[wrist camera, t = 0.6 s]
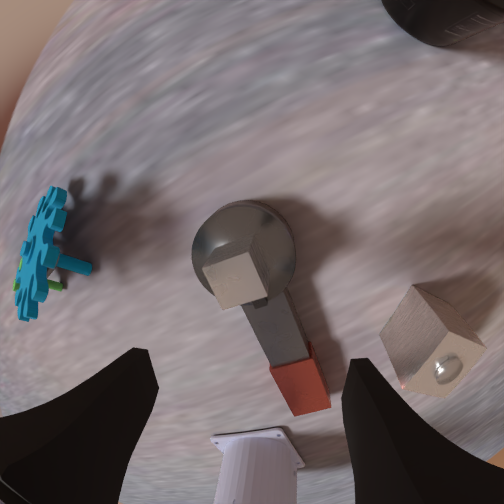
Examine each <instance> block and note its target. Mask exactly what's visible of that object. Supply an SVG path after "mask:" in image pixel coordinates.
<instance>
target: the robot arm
mask: <svg viewBox="0 0 504 504" xmlns="http://www.w3.org/2000/svg"><path fill="white" fill-rule="evenodd" d="M158 390H159V386H158V383H157V380H156V377H155V373H154V370H153V367H152V363H151V360H150V356H149V353H148V350H147V349H140V348H134V347H133V348H132V349H130V350H129V351H127V352H126V353H124V354H123V355H122V356H120V357H119V358H117V359H116V360H115V361H113V362H112V363H110V364H109V365H108V366H106V367H105V368H103V369H102V370H101V371H99V372H98V373H96V374H95V375H93V376H92V377H91V378H89V379H87V380H86V381H84V382H83V383H81V384H80V385H78V386H76V387H75V388H73V389H72V390H70V391H68V392H67V393H65V394H63V395H61V396H59V397H57V398H55V399H53V400H51V401H49V402H47V403H45V404H42V405H40V406H37V407H34V408H32V409H29V410H27V411H24V412H20V413H17V414H14V415H10V416H5V417H1V418H0V504H118V500H119V496H120V492H121V487H122V483H123V480H124V476H125V473H126V470H127V466H128V463H129V460H130V458H131V455H132V453H133V451H134V449H135V446H136V444H137V442H138V440H139V438H140V436H141V434H142V431H143V429H144V427H145V425H146V423H147V421H148V419H149V416H150V414H151V412H152V410H153V406H154V403H155V400H156V397H157V393H158ZM341 400H342V412H343V423H344V428H345V433H346V438H347V442H348V447H349V452H350V457H351V462H352V468H353V474H354V482H355V504H504V469H503V468H500V467H497V466H495V465H492V464H490V463H487V462H485V461H483V460H481V459H479V458H477V457H475V456H473V455H472V454H470V453H468V452H466V451H465V450H463V449H461V448H460V447H458V446H457V445H455V444H454V443H452V442H451V441H449V440H448V439H446V438H445V437H444V436H442V435H441V434H440V433H439V432H437V431H436V430H435V429H434V428H432V427H431V426H430V425H429V424H428V423H426V422H425V421H424V420H423V419H422V418H421V417H420V416H419V415H418V414H417V413H416V412H415V411H414V410H413V409H412V408H411V407H410V406H409V405H408V404H407V403H406V402H405V401H404V400H403V399H402V398H401V396H400V395H399V394H398V393H397V392H396V391H395V390H394V389H393V388H392V386H391V385H390V384H389V383H388V382H387V380H386V379H385V378H384V377H383V376H382V374H381V373H380V372H379V371H378V370H377V368H376V367H375V366H374V365H373V363H372V362H371V361H370V360H369V359H368V358H359V359H351V361H350V366H349V370H348V374H347V378H346V382H345V386H344V390H343V394H342V397H341ZM210 440H211V442H212V443H213V444H214V445H215V446H216V447H217V448H218V449H219V450H220V451H221V452H222V453H223V454H224V455H223V460H222V465H221V470H220V475H219V480H218V485H217V489H216V494H215V499H214V504H296V503H297V469H298V468H303V467H305V463H304V462H303V460H302V459H301V457H300V456H299V454H298V453H297V451H296V450H295V448H294V447H293V445H292V444H291V442H290V440H289V439H288V437H287V436H286V434H285V433H284V431H283V430H282V429H281V428H272V429H266V430H260V431H253V432H246V433H238V434H229V435H218V436H211V438H210Z"/></svg>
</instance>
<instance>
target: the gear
mask: <svg viewBox="0 0 504 504" xmlns="http://www.w3.org/2000/svg"><path fill="white" fill-rule="evenodd" d="M66 198H67V191H65V190H63V189H61V188H59V187H57V188H55V187H53V186H50V188H49V190H48V193H47V195H46V197H45V196H43V197H42V198H41V199H40V201H39V204H38V208H37V213H36V216H34V215H33V216H32V218H31V220H30V223H29V226H28V238H27V241H24V242H23V245H22V248H21V252H20V256H22V258H21V261H20V265H19V267H18V269H17V274H16V279H15V280H14V283H13V291H16V294H15V306H18V318H19V320H23V321H27V322H29V319H30V318H31V319H37V317H38V302H42V303H43V302H44V301H45V299H46V297H47V295H48V291H49V288H50V289H54V290H57V291H62V288H63V284H62V283H59V282H55V281H52V280H48V279H47V278H48V277H49V275H50V274H51V273H52V272H53V271H54V269H55V268H56V266H57V267H60V268H63V269H67V270H70V271H73V272H77V273H80V274H84V275H87V276H89V275H90V273H91V271H92V264H91V263H88V262H85V261H82V260H79V259H76V258H73V257H70V256H67V255H64V254H61V253H60V249H59V247H56V246H53V235H54V232H55V230H56V231H58V232H61V231H62V230H63V228H64V224H65V221H66V216H67V212H66V211H63V210H61V209H62V207H63V206H64V204H65V202H66Z"/></svg>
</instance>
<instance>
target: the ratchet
mask: <svg viewBox="0 0 504 504" xmlns="http://www.w3.org/2000/svg"><path fill="white" fill-rule="evenodd" d="M192 263H193V267H194V270H195V273H196V275H197V277H198V279H199V280H200V282H201V283H202V285H203V286H204V287H205V288H206V289H207V290H208V291H209V292H210V293H211V294H213V295H214V296H216V298H217V300H218V302H219V304H220V306H221V308H222V310H225V309H228V308H231V307H235V306H238V305H241V306H242V308H243V310H244V312H245V314H246V316H247V318H248V320H249V322H250V324H251V326H252V328H253V330H254V333H255V335H256V337H257V339H258V341H259V343H260V345H261V347H262V349H263V351H264V352H265V354H266V356H267V358H268V360H269V362H270V369H269V370H270V372H271V374H272V376H273V378H274V380H275V382H276V384H277V385H278V387H279V389H280V391H281V393H282V395H283V397H284V398H285V400H286V402H287V404H288V406H289V408H290V410H291V411H292V413H293V415H294V416H299V415H303V414H307V413H312V412H316V411H320V410H324V409H327V408H331V400H330V393H329V389H328V386H327V383H326V381H325V378H324V375H323V373H322V370H321V367H320V365H319V362H318V359H317V357H316V354H315V351H314V349H313V346H312V343H311V342H308V340H307V338H306V335H305V333H304V330H303V328H302V325H301V322H300V320H299V317H298V315H297V312H296V310H295V307H294V305H293V302H292V300H291V297H290V295H289V292H288V289H287V287H286V286H287V285H288V283H289V282H290V280H291V278H292V276H293V273H294V269H295V263H296V254H295V246H294V239H293V235H292V232H291V229H290V227H289V225H288V223H287V222H286V220H285V219H284V218H283V217H282V216H281V215H280V214H279V213H278V212H277V211H276V210H274V209H273V208H271V207H270V206H268V205H266V204H263V203H260V202H256V201H248V200H245V201H236V202H232V203H229V204H227V205H225V206H223V207H221V208H220V209H218V210H217V211H216V212H215V213H214V214H213V215H211V216H210V217H209V218H208V219H207V220H206V221H205V222H204V224H203V225H202V226H201V227H200V229H199V230H198V232H197V234H196V236H195V238H194V241H193V245H192Z"/></svg>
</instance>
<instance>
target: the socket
mask: <svg viewBox="0 0 504 504" xmlns="http://www.w3.org/2000/svg"><path fill="white" fill-rule="evenodd" d="M379 336H380V338H381V340H382V342H383V344H384V347H385V349H386V351H387V354H388V356H389V358H390V361H391V363H392V365H393V368H394V370H395V373H396V375H397V377H398V380H399V382H400V385H401V387H402V389H404V390H409V391H413V392H417V393H422V394H426V395H431V396H436V397H441V398H446V397H447V396H448V395H449V394H450V392H451V391H452V390H453V389H454V388H455V387H456V386H457V385H458V384H459V382H460V381H461V380H462V379H463V378H464V377H465V376H466V374H467V373H468V372H469V371H470V370H471V368H472V367H473V366H474V365H475V363H476V362H477V361H478V360H479V358H480V357H481V356H482V354H483V353H484V352H485V350H486V349H487V347H486V346H485V345H484V344H483V342H482V341H481V340H480V339H479V337H478V336H477V335H476V334H475V332H474V331H473V330H472V329H471V328H470V327H469V325H468V324H467V323H466V322H465V321H464V319H463V318H462V317H461V316H460V315H459V314H458V313H457V311H456V310H455V309H454V308H453V307H452V306H451V305H450V304H448V303H447V302H445V301H443V300H441V299H439V298H437V297H435V296H433V295H431V294H429V293H427V292H425V291H423V290H421V289H419V288H417V287H415V286H413V285H412V286H411V287H410V289H409V291H408V292H407V294H406V295H405V297H404V298H403V300H402V302H401V303H400V305H399V306H398V308H397V309H396V311H395V312H394V314H393V315H392V317H391V318H390V320H389V321H388V322H387V324H386V325H385V327H384V328H383V330H382V331H381V332H380V334H379Z"/></svg>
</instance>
